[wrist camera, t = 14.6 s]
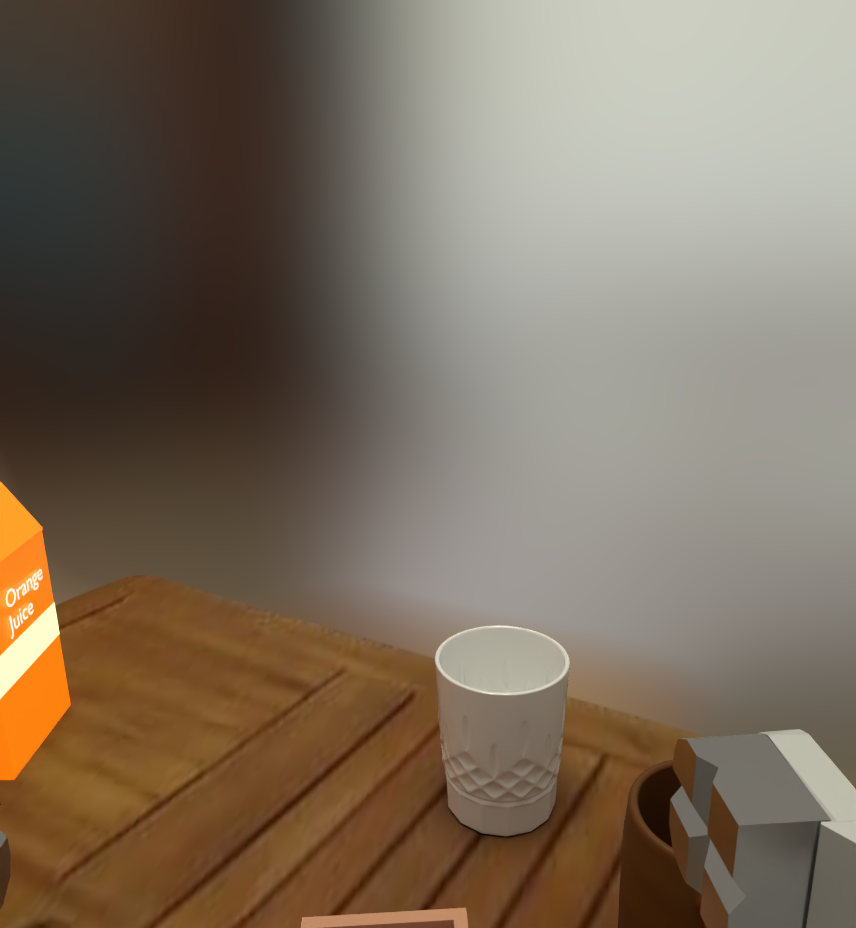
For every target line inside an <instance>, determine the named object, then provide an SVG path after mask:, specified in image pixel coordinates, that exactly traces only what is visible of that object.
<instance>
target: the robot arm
mask: <svg viewBox="0 0 856 928" xmlns="http://www.w3.org/2000/svg"><path fill="white" fill-rule="evenodd" d="M673 770H674V771H675V773H676V775H677V777H678V779H679V781H680V783H681V785H682V786H681V787H680V788H679V789H678V791H677V792H676V793H675V794H674V795H673V797H672V798H671V799H670V817H669V825H670V833H671V841H672V848H673V851H674V854H675V858H676V861H677V864H678V867H679V869H680V871H681V874H682V876H683V878H684V880H685V883H687V884H688V885H689V886H691V887H692V888H694V889H695V890H696V891H698V892H699V893H700V894H702V898H701V910H700V915H701V917H702V919H703V921H704V923H705V925H706V928H856V789H855V788H854V786H853V785H852V784H851V783H850V782H849V781H848V779H847V778H846V777H845V776H844V775H843V774H842V772H841V771H840V770H839V769H838V768H837V767H836V765H835V764H834V763H833V762H832V761H831V760H830V758H829V757H828V756H827V755H826V754H825V753H824V751H823V750H822V749H821V748H820V747H819V746H818V744H817V743H816V742H815V741H814V740H813V739H812V737H811V736H810V735H809V734H808V733H806V732H804V731H802V730H800V729H797V730H784V731H772V732H760V733H759V734H749V735H733V736H717V737H701V738H685V739H678V741H677V744H676V747H675V750H674V759H673ZM0 805H1V804H0ZM9 879H10V850H9V844H8V839H7V836H6V835H5V834H3V833H2V832H1V831H0V909H1V907H2V905H3V902H4V898H5V894H6V891H7V887H8V883H9Z"/></svg>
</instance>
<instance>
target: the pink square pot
mask: <svg viewBox="0 0 856 928" xmlns="http://www.w3.org/2000/svg"><path fill="white" fill-rule="evenodd" d="M301 928H468V921H467V913H466V908H454V909H437V910H420V911H403V912H387V913H370V914H353V915H336V916H319V917H303V918H302V924H301Z"/></svg>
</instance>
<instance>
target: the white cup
mask: <svg viewBox="0 0 856 928" xmlns="http://www.w3.org/2000/svg"><path fill="white" fill-rule="evenodd" d="M569 663H570V661H569V657H568V654H567V652H566V651H565V650H564V648H563V647H562V646H561V645H560V644H559V643H558V642H556V641H555V640H554V639H552V638H550V637H548V636H546V635H544V634H542V633H539V632H536V631H533V630H530V629H526V628H520V627H514V626H484V627H477V628H472V629H468V630H465V631H462V632H459V633H457V634H455V635H453V636H451V637H450V638H448V639H447V640H445V641H444V642H443V643H442V644H441V645H440V646H439V648H438V650H437V652H436V656H435V666H436V681H437V694H438V711H439V726H440V732H441V748H442V760H443V764H444V767H445V774H446V785H447V798H448V807H449V809H450V810H451V811H452V812H453V814H454V815H455V816H456V817H457V819H458V820H459V821H460V822H461V823H462V824H464V825H466V826H468V827H470V828H472V829H474V830H476V831H478V832H480V833H483V834H490V835H498V836H512V835H517V834H522V833H526V832H531V831H532V830H534V829H535V828H537V827H538V826H540V825H541V824H542V823H544V822H545V821H547V820H548V819H549V816H550V814H551V812H552V809H553V807H554V804H555V801H556V788H557V775H558V771H559V766H560V760H561V747H562V741H563V733H564V723H565V710H566V698H567V687H568V675H569V665H570V664H569Z"/></svg>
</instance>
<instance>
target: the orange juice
mask: <svg viewBox="0 0 856 928" xmlns="http://www.w3.org/2000/svg"><path fill="white" fill-rule="evenodd" d="M42 529H43V528H42V527H41V526H40V524H39V523H38V522H37V521H36V520H35V519H34V518H33V517H32V516H31V515H30V514H29V512H28V511H27V510H26V509H25V508H24V507H23V506H22V505H21V504H20V503H19V501H18V500H17V499H16V498H15V497H14V496H13V495H12V494H11V493H10V492H9V490H8V489H7V488H6V487H5V486H4V485H3V484H2V483H1V482H0V780H14V779H15V778H16V777H17V775H18V774H19V773H20V771H21V770H22V769H23V767H24V766H25V765H26V763H27V762H28V761H29V759H30V758H31V757H32V755H33V754H34V753H35V751H36V750H37V749H38V747H39V746H40V745H41V743H42V742H43V741H44V739H45V738H46V737H47V735H48V734H49V733H50V731H51V730H52V729H53V727H54V726H55V725H56V723H57V722H58V721H59V719H60V718H61V717H62V715H63V714H64V713H65V712H66V710H67V709H68V708H69V706H70V705H71V704H70V698H69V692H68V686H67V680H66V674H65V668H64V662H63V656H62V650H61V644H60V638H59V634H60V633H59V627H58V621H57V615H56V609H55V603H54V601H53V595H52V589H51V583H50V577H49V572H48V565H47V559H46V553H45V548H44V541H43V535H42Z"/></svg>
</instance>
